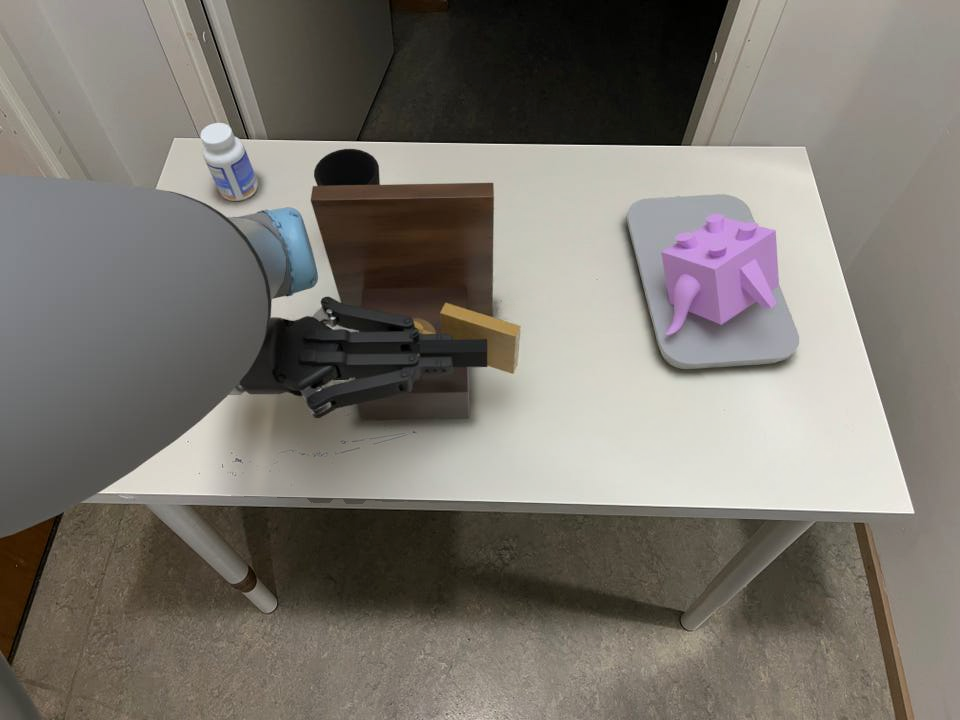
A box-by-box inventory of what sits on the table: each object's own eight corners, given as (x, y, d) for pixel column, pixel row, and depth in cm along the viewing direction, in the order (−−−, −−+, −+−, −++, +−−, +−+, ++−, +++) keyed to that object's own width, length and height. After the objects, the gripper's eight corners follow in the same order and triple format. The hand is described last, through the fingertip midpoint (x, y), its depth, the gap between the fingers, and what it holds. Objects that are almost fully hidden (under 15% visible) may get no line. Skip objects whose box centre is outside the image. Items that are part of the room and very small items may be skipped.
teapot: (830, 208, 72) (830, 286, 77) (731, 188, 82) (738, 258, 88) (707, 288, 67) (717, 366, 72) (618, 256, 77) (633, 326, 82)
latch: (519, 359, 73) (522, 320, 67) (511, 379, 72) (513, 341, 66) (406, 323, 76) (399, 282, 70) (396, 341, 74) (388, 301, 68)
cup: (333, 220, 93) (314, 150, 82) (389, 216, 93) (377, 145, 83) (332, 264, 88) (313, 196, 78) (391, 259, 89) (379, 190, 79)
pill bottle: (255, 171, 98) (234, 114, 90) (261, 197, 95) (240, 140, 87) (217, 180, 97) (192, 123, 89) (222, 206, 94) (196, 150, 86)
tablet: (738, 205, 93) (743, 192, 91) (799, 366, 79) (807, 356, 77) (620, 212, 93) (623, 199, 91) (661, 375, 79) (665, 365, 77)
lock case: (495, 418, 76) (498, 312, 59) (335, 421, 76) (291, 316, 59) (492, 303, 85) (493, 182, 68) (347, 306, 85) (312, 185, 68)
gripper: (219, 395, 60) (488, 392, 60) (245, 279, 67) (486, 276, 67) (245, 433, 66) (488, 430, 66) (266, 323, 73) (486, 321, 73)
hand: (486, 353), depth 67 cm, fingers closed
